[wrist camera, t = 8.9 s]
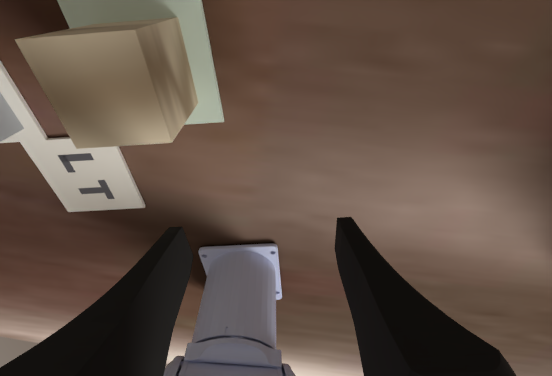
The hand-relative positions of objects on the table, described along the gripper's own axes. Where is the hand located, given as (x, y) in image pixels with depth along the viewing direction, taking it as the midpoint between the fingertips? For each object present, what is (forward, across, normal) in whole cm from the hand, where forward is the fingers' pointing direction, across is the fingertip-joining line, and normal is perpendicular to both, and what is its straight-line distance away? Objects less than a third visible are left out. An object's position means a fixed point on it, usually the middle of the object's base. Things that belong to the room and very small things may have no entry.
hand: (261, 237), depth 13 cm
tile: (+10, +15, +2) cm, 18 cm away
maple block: (+10, +7, -6) cm, 13 cm away
